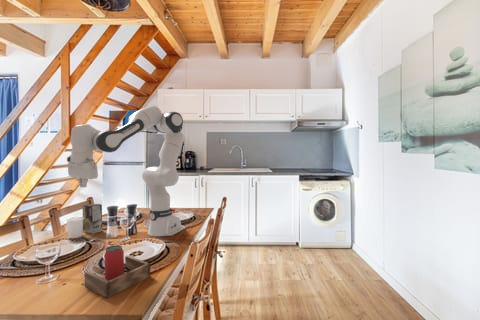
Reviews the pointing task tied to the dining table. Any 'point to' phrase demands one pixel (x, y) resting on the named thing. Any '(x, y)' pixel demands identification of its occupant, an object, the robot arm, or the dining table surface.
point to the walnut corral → (119, 278)
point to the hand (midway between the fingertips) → (83, 187)
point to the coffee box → (92, 218)
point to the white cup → (75, 227)
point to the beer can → (114, 262)
